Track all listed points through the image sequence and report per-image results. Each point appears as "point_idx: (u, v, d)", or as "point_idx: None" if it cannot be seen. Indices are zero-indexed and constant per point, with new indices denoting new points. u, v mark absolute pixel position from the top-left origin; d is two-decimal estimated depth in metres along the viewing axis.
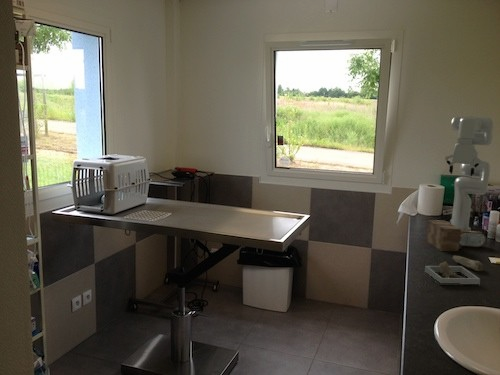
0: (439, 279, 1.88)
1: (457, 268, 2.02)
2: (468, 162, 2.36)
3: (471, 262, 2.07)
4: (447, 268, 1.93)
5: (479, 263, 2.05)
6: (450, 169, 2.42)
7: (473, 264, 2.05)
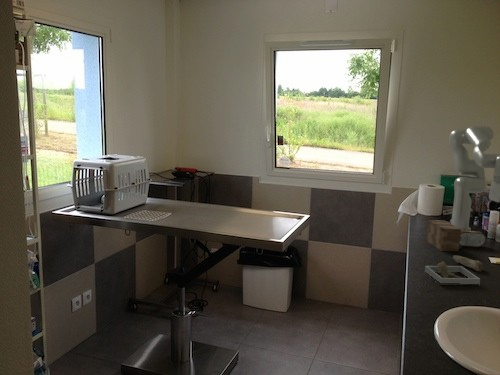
0: (439, 279, 1.88)
1: (457, 268, 2.02)
2: None
3: (471, 262, 2.07)
4: (445, 268, 1.93)
5: (479, 263, 2.05)
6: None
7: (473, 264, 2.05)
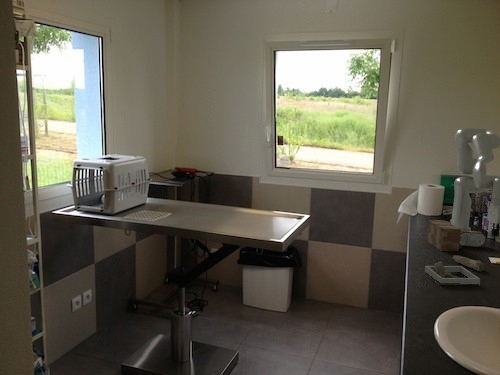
0: (439, 279, 1.88)
1: (457, 268, 2.02)
2: None
3: (472, 262, 2.07)
4: (442, 268, 1.93)
5: (480, 263, 2.05)
6: None
7: (474, 264, 2.05)
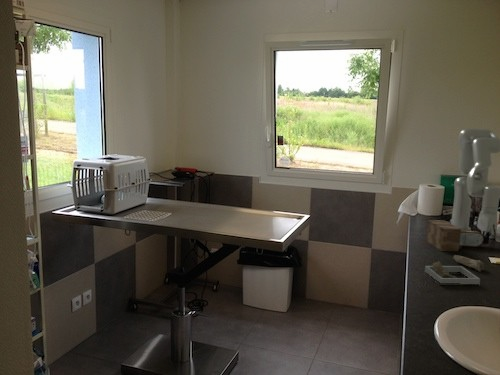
0: (439, 279, 1.88)
1: (457, 268, 2.02)
2: None
3: (472, 262, 2.07)
4: (441, 268, 1.93)
5: (480, 262, 2.06)
6: (487, 240, 2.41)
7: (475, 264, 2.06)
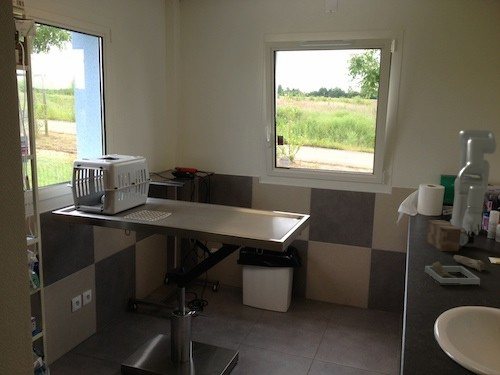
0: (439, 279, 1.88)
1: (457, 268, 2.02)
2: None
3: (473, 261, 2.08)
4: (440, 268, 1.93)
5: (481, 262, 2.06)
6: (472, 239, 2.40)
7: (475, 263, 2.06)
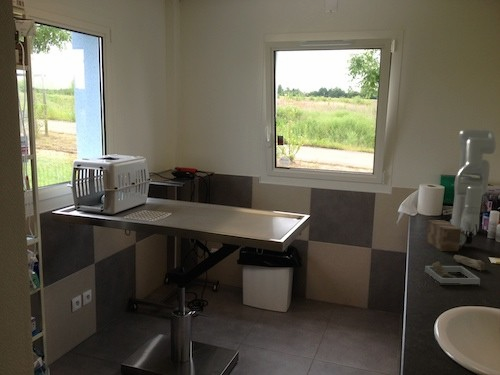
0: (439, 279, 1.88)
1: (457, 268, 2.02)
2: None
3: (473, 261, 2.08)
4: (440, 268, 1.93)
5: (481, 262, 2.06)
6: (470, 239, 2.40)
7: (475, 263, 2.06)
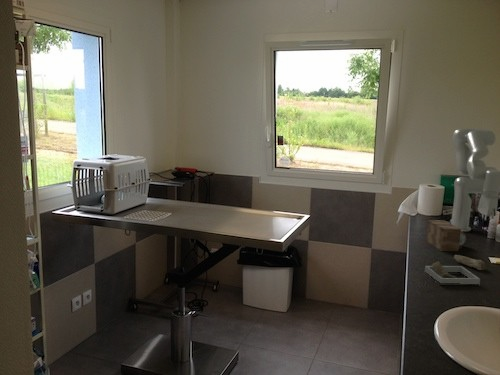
0: (439, 279, 1.88)
1: (457, 268, 2.02)
2: None
3: (473, 261, 2.08)
4: (440, 268, 1.93)
5: (482, 262, 2.06)
6: None
7: (476, 263, 2.06)
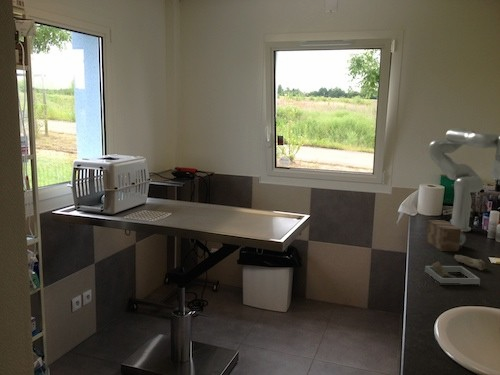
0: (439, 279, 1.88)
1: (457, 268, 2.02)
2: None
3: (474, 261, 2.08)
4: (441, 268, 1.93)
5: (482, 262, 2.07)
6: None
7: (477, 263, 2.07)
